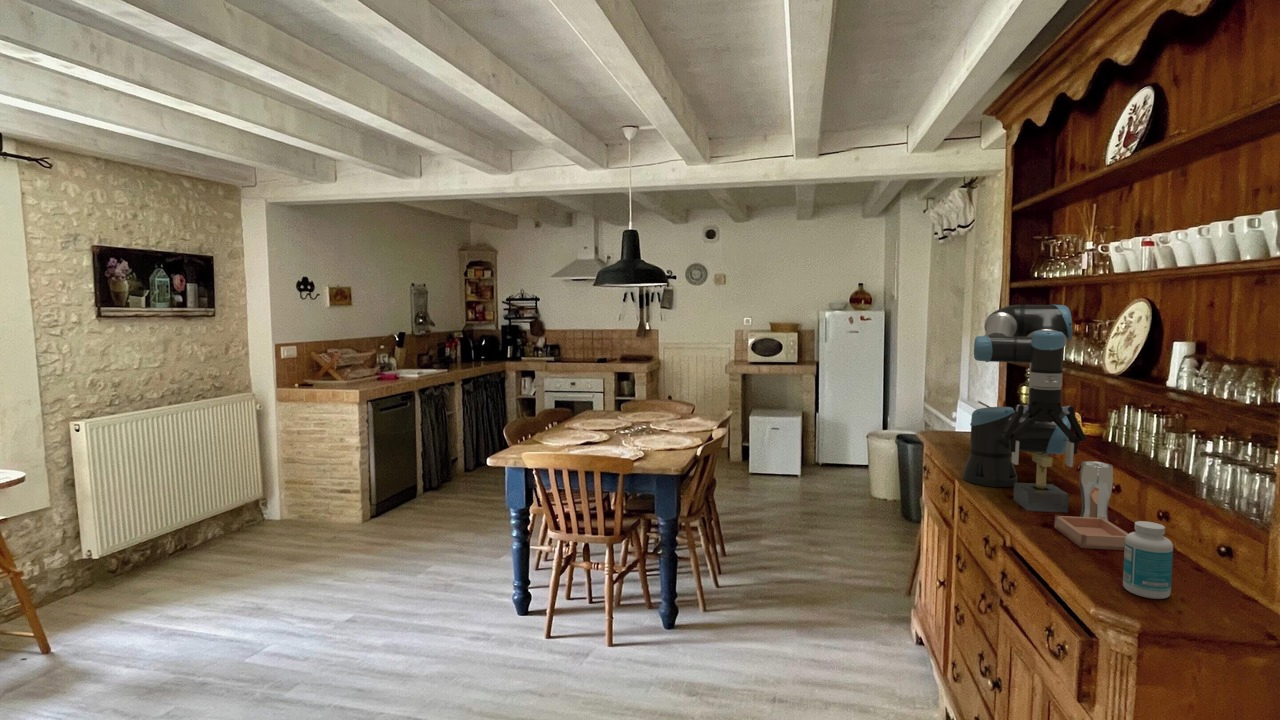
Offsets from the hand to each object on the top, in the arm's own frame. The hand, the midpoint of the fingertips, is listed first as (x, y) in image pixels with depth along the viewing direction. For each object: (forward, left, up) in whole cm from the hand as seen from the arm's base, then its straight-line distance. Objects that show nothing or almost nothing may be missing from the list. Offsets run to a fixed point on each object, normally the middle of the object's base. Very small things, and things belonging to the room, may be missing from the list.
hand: (1041, 464), depth 181 cm
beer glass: (+11, +8, -12) cm, 18 cm away
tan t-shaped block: (0, 0, -12) cm, 12 cm away
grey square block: (0, 0, -12) cm, 12 cm away
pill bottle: (+55, -2, -12) cm, 56 cm away
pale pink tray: (+25, +2, -12) cm, 27 cm away
